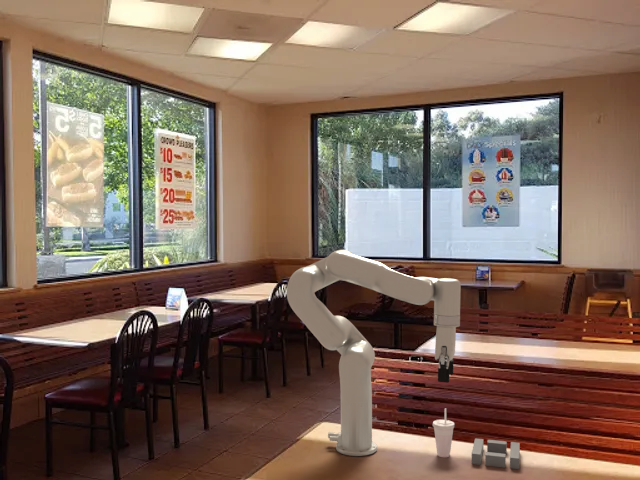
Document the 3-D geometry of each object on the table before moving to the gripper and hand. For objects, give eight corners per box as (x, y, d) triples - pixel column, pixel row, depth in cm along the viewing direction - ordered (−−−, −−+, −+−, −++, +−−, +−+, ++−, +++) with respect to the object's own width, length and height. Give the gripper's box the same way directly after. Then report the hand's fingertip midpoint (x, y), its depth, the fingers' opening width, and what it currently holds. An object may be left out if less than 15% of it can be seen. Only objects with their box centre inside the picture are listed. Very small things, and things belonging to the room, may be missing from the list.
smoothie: (454, 459, 181) (454, 412, 180) (432, 458, 182) (432, 411, 182) (454, 451, 187) (454, 405, 187) (432, 450, 188) (432, 404, 188)
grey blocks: (471, 463, 177) (471, 453, 177) (475, 448, 190) (475, 438, 190) (519, 469, 173) (519, 458, 173) (519, 452, 186) (519, 442, 186)
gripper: (438, 315, 192) (437, 370, 193) (429, 324, 176) (428, 384, 176) (462, 317, 190) (461, 372, 190) (456, 326, 173) (455, 386, 174)
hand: (445, 377), depth 183 cm, fingers open, 9 cm apart
